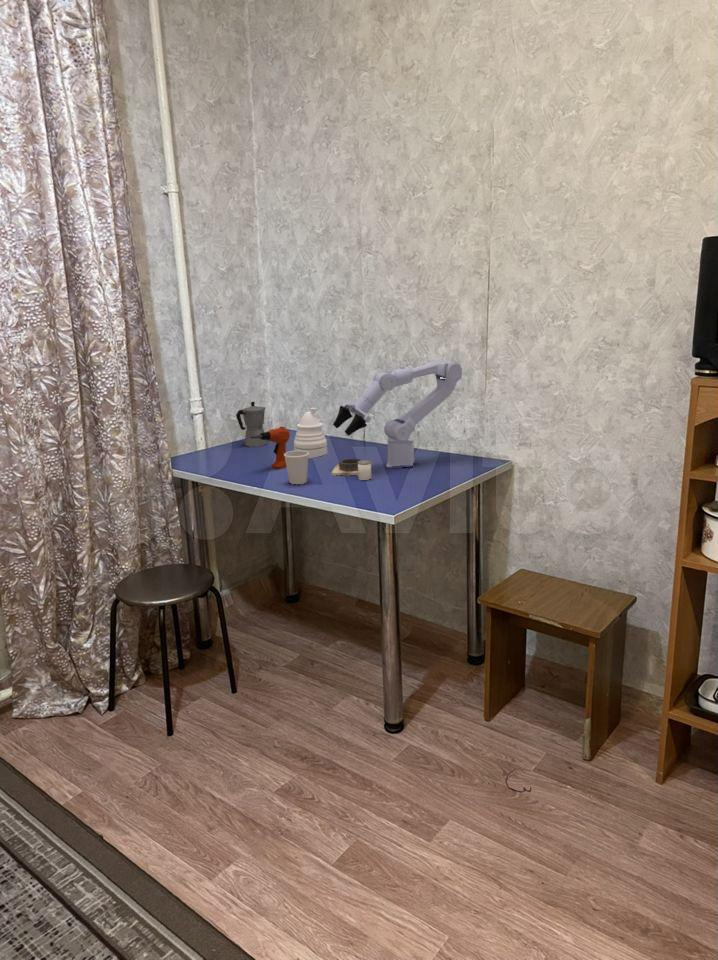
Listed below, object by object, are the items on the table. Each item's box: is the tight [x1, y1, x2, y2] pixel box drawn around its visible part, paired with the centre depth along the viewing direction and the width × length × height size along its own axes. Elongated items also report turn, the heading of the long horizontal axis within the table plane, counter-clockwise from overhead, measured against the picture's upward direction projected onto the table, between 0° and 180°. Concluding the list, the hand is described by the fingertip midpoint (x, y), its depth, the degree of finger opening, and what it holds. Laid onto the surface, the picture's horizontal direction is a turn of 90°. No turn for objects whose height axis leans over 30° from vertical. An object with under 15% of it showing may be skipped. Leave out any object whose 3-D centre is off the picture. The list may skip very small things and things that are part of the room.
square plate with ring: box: [330, 458, 362, 477], centre depth 245 cm, size 12×12×4 cm
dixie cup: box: [284, 450, 309, 486], centre depth 233 cm, size 8×8×10 cm
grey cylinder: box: [357, 459, 372, 481], centre depth 235 cm, size 4×4×6 cm
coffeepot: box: [235, 401, 268, 448], centre depth 288 cm, size 15×9×18 cm, turn 139°
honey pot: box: [293, 407, 328, 459], centre depth 269 cm, size 13×13×18 cm
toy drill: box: [250, 426, 291, 470], centre depth 250 cm, size 5×19×15 cm, turn 141°
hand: (340, 430), depth 239 cm, fingers open, 7 cm apart
